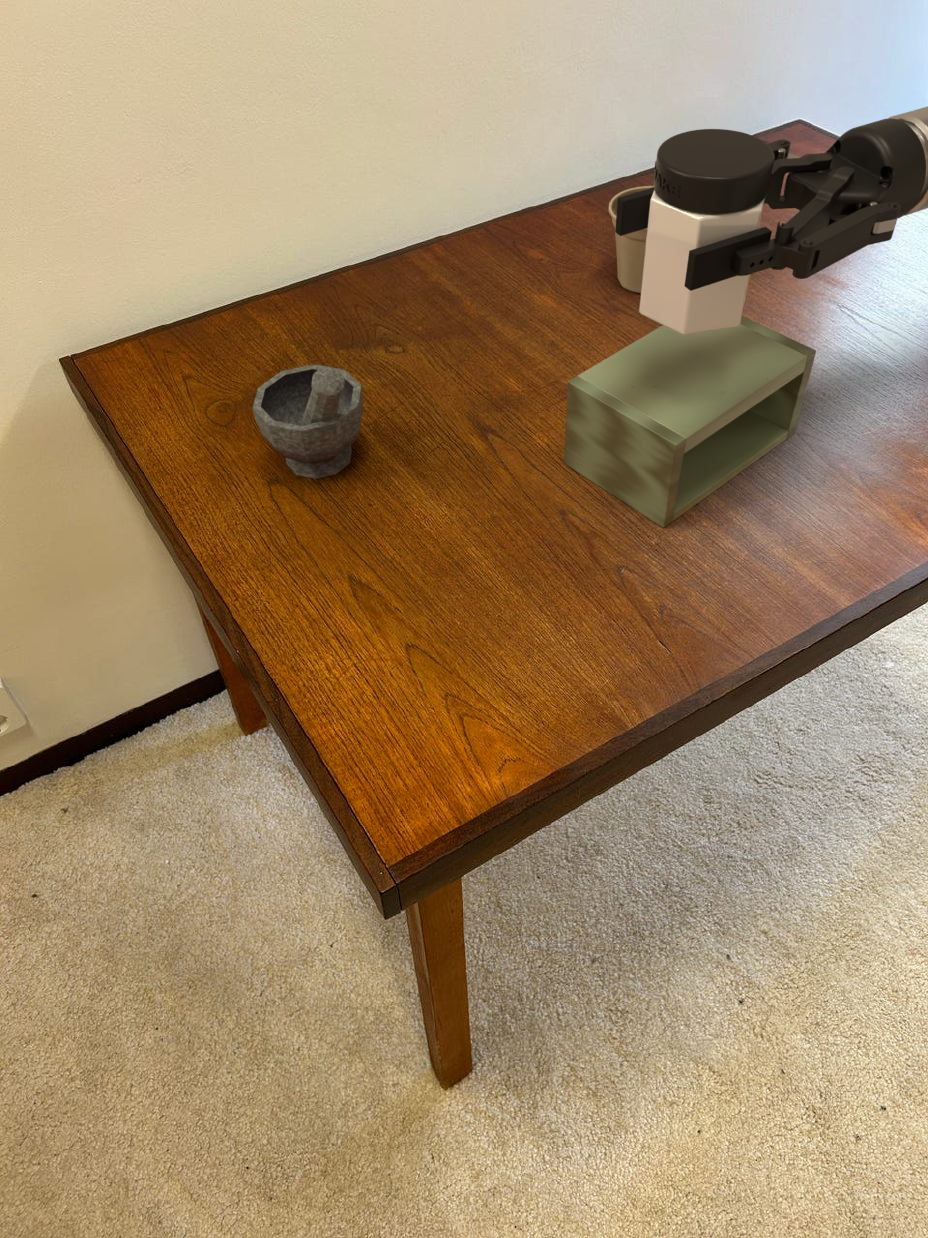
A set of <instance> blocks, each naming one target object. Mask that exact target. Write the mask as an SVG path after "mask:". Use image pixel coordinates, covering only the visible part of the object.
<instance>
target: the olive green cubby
mask: <svg viewBox="0 0 928 1238" xmlns="http://www.w3.org/2000/svg"><path fill="white" fill-rule="evenodd" d="M816 355H817V350H816V349H814V348H812V347H810V346H807V345H806V344H804V343H802V342H799V341H797V340H795V339H793V338H791V337H789V336H787V335H784V334H782V333H780V332H779V331H776V330H774V329H772V328H770V327H768V326H766V325H763V324H761V323H759V322H757V321H755V320H753V319H751V318H749V317H747V316H745V315H742V318H741V322H740V325H739V326H737V327H730V328H724V329H718V330H712V331H706V332H700V333H694V334H688V335H682V334H680V333H678V332H676V331H674V330H672V329H670V328H668V327H666V326H664V325H662V324H661V325H660V326H659V327H657V328H655V329H653V330H652V331H651V332H649V333H647V334H646V335H643V336H642V337H640V338H638V339H637V340H635V341H634V342H631V343H630V344H629V345H626V346H625V347H623V348H621V349H620V350H618V351H617V352H614V353H613V354H612V355H610V356H608V357H607V358H605V359H603V360H602V361H600V362H598V363H596V364H594V365H592V366H591V367H589V368H588V369H586V370H585V371H583V372H581V373H580V374H578V375H576V376H574V377H572V378H571V379H569V380H568V381H567V388H566V389H567V390H566V408H565V409H566V411H565V430H564V431H565V432H564V434H565V435H564V454H563V455H564V456H563V464H564V465H566V466H567V467H569V468H571V469H572V470H573V471H575V472H577V473H578V474H580V475H581V476H582V477H584V478H586V479H587V480H589V481H590V482H592V483H593V484H594V485H597V486H598V487H599V488H601V489H602V490H604V491H606V492H607V493H609V494H610V495H612V496H613V497H615V498H616V499H618V500H619V501H621V502H623V503H624V504H626V505H627V506H629V507H630V508H632V509H634V510H635V511H637V512H638V513H640V514H642V516H644V517H646V518H647V519H649V520H651V521H652V522H653V523H654V524H657V525H658V526H660V527H661V528H663V529H664V528H666V527H668V525H670V524H672V523H673V522H674V521H675V520H676V519H678V518H679V517H681V516H682V515H683V514H685V513H686V512H688V511H690V509H692V508H694V507H695V506H696V505H697V504H699V503H700V502H702V501H704V499H706V498H707V497H708V496H710V495H711V494H713V493H714V492H716V491H717V490H719V488H721V487H723V486H724V485H725V484H727V483H729V481H731V480H732V479H734V478H735V477H736V476H738V475H739V474H740V473H742V472H743V471H745V470H746V469H747V468H748V467H750V466H752V465H753V464H755V463H756V462H758V461H759V460H760V459H761V458H762V457H764V456H765V455H767V454H768V453H769V452H771V451H772V450H774V449H775V448H776V447H778V446H779V445H780V444H782V443H783V442H785V441H786V440H788V439H789V438H791V437H793V436H794V435H795V432H796V428H797V426H798V421H799V418H800V413H801V410H802V405H803V402H804V400H805V399H804V398H805V395H806V391H807V387H808V383H809V381H810V380H809V379H810V377H811V374H812V369H813V365H814V361H815V357H816Z"/></svg>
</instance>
